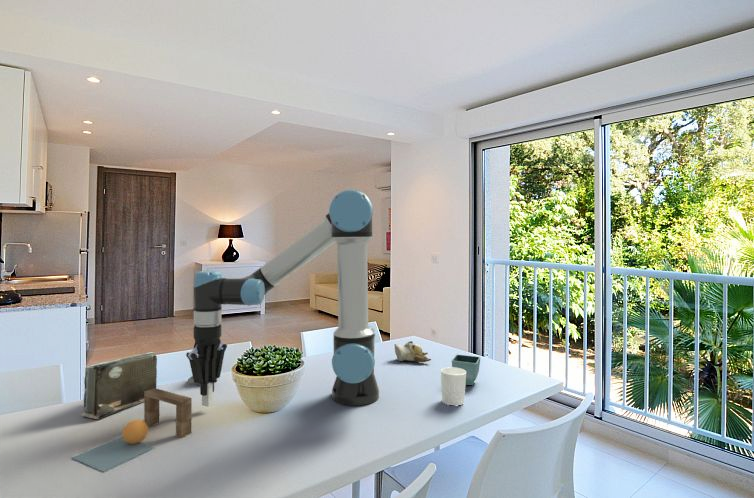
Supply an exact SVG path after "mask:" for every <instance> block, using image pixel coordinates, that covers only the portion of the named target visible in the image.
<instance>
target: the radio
mask: <svg viewBox="0 0 754 498" xmlns="http://www.w3.org/2000/svg"><path fill="white" fill-rule="evenodd" d="M157 365H158V358H157V354H156V353H155V352H154V351H146V352H145V353H139V354H135V355H131V356H130V355H129V356H125V357H122V358H118V359H114V360H110V361H104V362H98V363H96V364H91V365H87V366H86V367H85V372H84V380H83V381H84V394H83V409H84V410H83V411H82V412H81V413H80V416H81V417H86V418H90V419H94V420H99V419H102V418H105V417H108V416H110V415H113V414H115V413H118V412H121V411H124V410H126V409H128V408H131V407H134V406H136V405H140V404H142V403H144V392H145V391H148V390H151V389H153V388H156V389H157V377H158V375H157V374H158V373H157V372H158V370H157V368H158V367H157Z"/></svg>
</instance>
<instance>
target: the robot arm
mask: <svg viewBox="0 0 754 498" xmlns="http://www.w3.org/2000/svg"><path fill="white" fill-rule="evenodd" d="M373 210H374V209H373V204H372V202H371V199H370V198H369V197H368V195H366V193H364V192H362V191H360V190H357V189H345V190H343V191H341V192H338V194H336V195H335V196H334V197H333V199H332V200H331V202H330V205H329V210H328V213H327V214H326V215H324V218H323V221H322V222H320V223H319V224H317V226H315V227H314V228H312V229H311V230H310V231H308V232H307V233H306V234H304V235H303V236H302V237H300V238H298V240H296V241H294V242H293V243H292V244H291V245H290V246H288V247H286V248H285V249H284V250H283V251H281V252H279V254H277V255H276V256H274V257H273V258H272V259H270V260H269V261H268V262H266V263H265V264H264V265H263V266H261V267H260V268H258V269H257V270H255V271H254V272H253V273H252V274H250V275H248V276H245V277H242V278H226V277H223V274H222V272H221V271H219V270H201V271H197V272H196V273H194V278H193V287H192V288H193V324H194V326H193V339H194V344H193V349H192V350H191V351H189V352H187V353H186V354H185V355H186V358H187V359H188V361H189V365H190V370H191V374H192V376H193V380H194V383H193V384H197V385H199V387H200V389H199V391H200V393H199V394H200V395H201V406H204V407H211V406H213V405H214V404H213V400H214V399H213V397H214V395H213V393H214V391H215V383H217V382H218V379H220V377H221V372H222V368H223V364H224V363H223V362H224V356H225V352H226V349H227V347H228V344H225V343H222V340H221V337H222V309H223V308H222V305H239V306H241V305H242V306H254V305H255V306H257V305H261V304H262V303H263V301H264V299H265V295H266V294H267V293H268V292H270V291H271V290H273V289H274V288H275V287H276V286H278V285H279V284H280V283H281V282H283V281H284V280H286V279H287V278H288V277H290V276H291V275H292V274H294V273H295V272H297V270H299V269H301V268H302V267H303V266H305V265H306V264H308V263H309V262H310V261H311V260H313V259H314V258H315V257H317V256H318V255H320V254H321V253H323V252H324V251H325V250H326V249H328V248H329V247H331V246H333V244H335V243H336V245H337V246H336V247H337V248H336V249H337V254H336V255H337V258H336V259H337V303H338V304H337V307H338V309H337V311H338V312H337V313H338V314H337V315H338V317H337V318H338V319H337V320H338V327H336V329H335V330H334V331H333V355H332V359H331V366H332V369H333V372H334V375H336V377H335V380H334V384H333V386H332V390H331V398H332V399H333V401H334V402H337V403H338V404H341V405H346V406H364V405H365V404H366V405H370V404H373V403H374V402H377V399H378V400H379V398H380V390H379V389H380V388H379V386H378V382H377V378H376V376H375V364H376V363H375V362H376V361H375V337H376V333H375V328H374V326H371V325H369V294H368V293H369V286H368V285H369V281H368V277H369V275H368V274H369V273H368V244H369V242H370V241H371V239H372V238H373ZM216 379H217V380H216ZM366 405H365V406H366Z"/></svg>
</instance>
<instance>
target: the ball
mask: <svg viewBox="0 0 754 498" xmlns="http://www.w3.org/2000/svg"><path fill="white" fill-rule="evenodd" d="M148 433H149V427H148V426H147V424H146V423H145V422H144V420H142V419H134V420H130V421H129V422H127V423H126V425H125V426H124V427H123V429H122V434H121V435H122V436H123V439H124V440H125V441H126V442H127V443H129V444H136V443H139V442H143V441H144V440H145V438H146V437H147V436H148ZM122 436H121V437H122Z"/></svg>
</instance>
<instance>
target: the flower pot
mask: <svg viewBox="0 0 754 498" xmlns="http://www.w3.org/2000/svg"><path fill="white" fill-rule="evenodd" d="M480 364H481V357H480V356H476V355H475V356H473V355H465V354H455V356H454V357H452V359H451V367H456V368H461V369H464V370H465V371H466V385H472V386H473V385H474V384H475V382H474V381H476V379H477V377H478V375H479V371H480ZM466 385H465V386H466Z"/></svg>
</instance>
